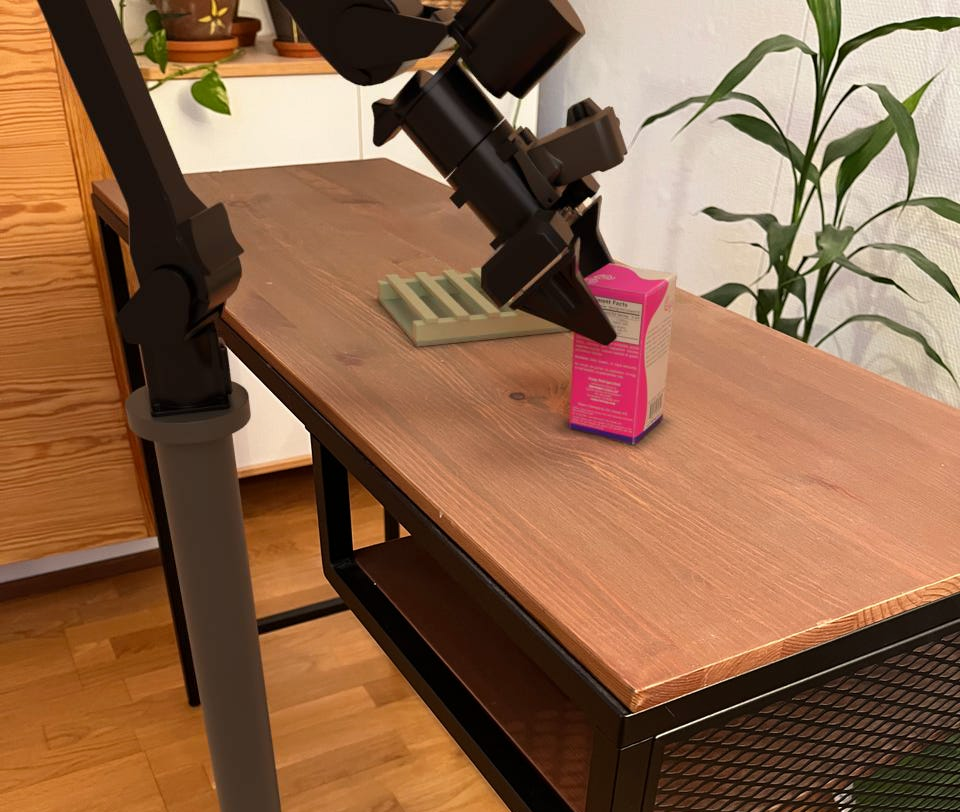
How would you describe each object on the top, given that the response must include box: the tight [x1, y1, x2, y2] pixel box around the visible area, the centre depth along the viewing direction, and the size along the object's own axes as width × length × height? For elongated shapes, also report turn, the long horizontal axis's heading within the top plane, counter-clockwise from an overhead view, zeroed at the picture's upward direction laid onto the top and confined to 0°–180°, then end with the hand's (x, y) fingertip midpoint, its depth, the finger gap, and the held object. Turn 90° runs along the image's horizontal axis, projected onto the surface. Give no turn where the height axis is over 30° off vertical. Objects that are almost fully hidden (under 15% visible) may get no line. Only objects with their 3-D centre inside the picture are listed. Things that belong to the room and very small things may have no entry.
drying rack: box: [377, 266, 571, 348], centre depth 100 cm, size 18×14×7 cm
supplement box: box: [568, 263, 678, 446], centre depth 78 cm, size 6×6×12 cm
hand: (619, 320), depth 76 cm, fingers open, 9 cm apart
